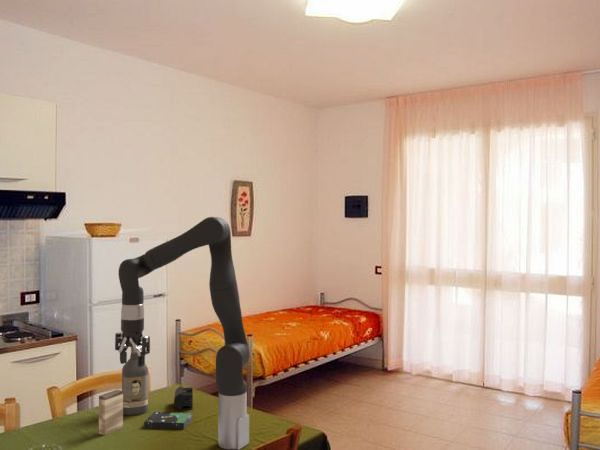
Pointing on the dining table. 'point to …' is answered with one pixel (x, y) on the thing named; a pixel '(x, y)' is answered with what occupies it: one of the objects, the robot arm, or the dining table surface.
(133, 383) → the liquor
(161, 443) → the dining table surface
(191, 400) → the end cap
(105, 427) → the birch tile
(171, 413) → the disk drive
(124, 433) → the dining table surface
